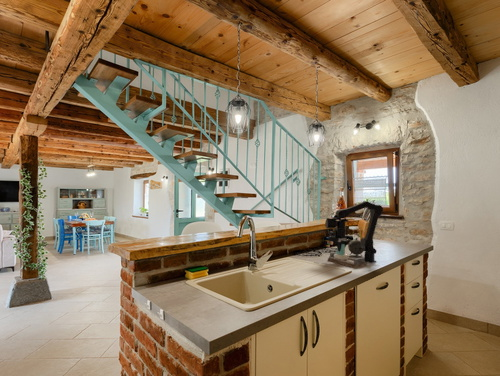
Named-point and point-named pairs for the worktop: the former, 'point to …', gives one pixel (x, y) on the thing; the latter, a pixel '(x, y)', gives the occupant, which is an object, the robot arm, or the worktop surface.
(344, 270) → the worktop surface
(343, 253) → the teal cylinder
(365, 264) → the rail board
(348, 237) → the robot arm
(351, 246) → the alarm clock
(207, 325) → the worktop surface
